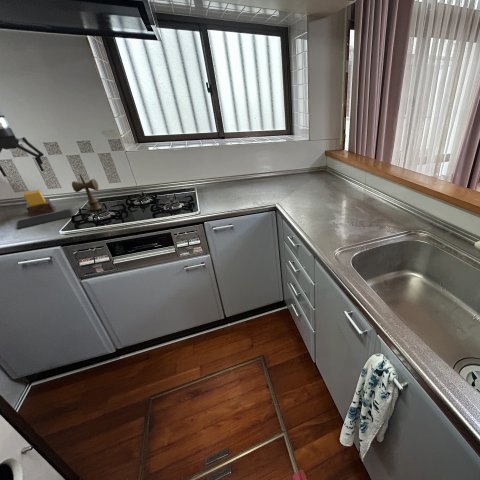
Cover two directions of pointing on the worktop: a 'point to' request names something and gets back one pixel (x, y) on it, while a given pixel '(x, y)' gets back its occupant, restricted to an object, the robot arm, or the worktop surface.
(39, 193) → the mustard cube
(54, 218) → the rubber mat
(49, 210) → the walnut block
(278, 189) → the worktop surface
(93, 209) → the kendama
